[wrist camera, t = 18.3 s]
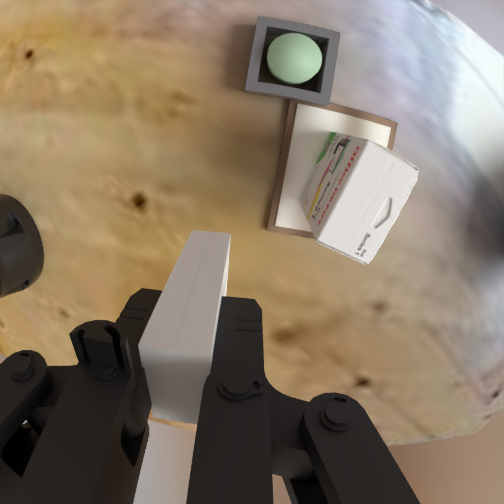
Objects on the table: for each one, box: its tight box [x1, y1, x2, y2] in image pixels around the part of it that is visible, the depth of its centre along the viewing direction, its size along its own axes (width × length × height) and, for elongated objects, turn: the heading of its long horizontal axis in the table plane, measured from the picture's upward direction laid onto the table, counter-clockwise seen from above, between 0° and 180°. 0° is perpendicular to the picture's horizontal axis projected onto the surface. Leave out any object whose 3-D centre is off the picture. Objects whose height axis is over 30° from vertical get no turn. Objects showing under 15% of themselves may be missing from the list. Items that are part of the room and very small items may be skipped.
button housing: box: [245, 16, 340, 106], centre depth 25 cm, size 8×8×3 cm
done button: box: [267, 33, 322, 85], centre depth 24 cm, size 5×5×3 cm
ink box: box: [299, 132, 419, 264], centre depth 25 cm, size 8×5×12 cm, turn 157°
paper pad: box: [267, 99, 398, 239], centre depth 31 cm, size 12×15×1 cm
